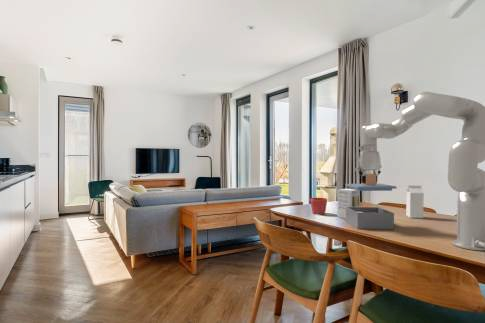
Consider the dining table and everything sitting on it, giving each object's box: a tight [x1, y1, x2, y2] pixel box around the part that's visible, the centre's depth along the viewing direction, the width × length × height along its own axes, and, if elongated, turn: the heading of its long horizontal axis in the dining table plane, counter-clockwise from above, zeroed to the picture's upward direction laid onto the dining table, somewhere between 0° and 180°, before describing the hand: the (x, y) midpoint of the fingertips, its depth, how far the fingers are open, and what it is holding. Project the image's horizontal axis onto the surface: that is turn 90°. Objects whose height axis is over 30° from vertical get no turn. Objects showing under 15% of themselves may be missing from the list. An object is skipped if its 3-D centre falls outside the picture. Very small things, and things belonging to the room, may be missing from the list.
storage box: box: [345, 206, 395, 230], centre depth 159 cm, size 18×18×8 cm
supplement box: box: [337, 188, 361, 220], centre depth 179 cm, size 10×9×17 cm
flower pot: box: [309, 197, 328, 216], centre depth 192 cm, size 11×11×10 cm
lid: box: [345, 172, 397, 192], centre depth 159 cm, size 19×19×8 cm
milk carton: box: [405, 185, 424, 219], centre depth 180 cm, size 7×7×19 cm
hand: (369, 183), depth 159 cm, fingers closed on lid, 5 cm apart
